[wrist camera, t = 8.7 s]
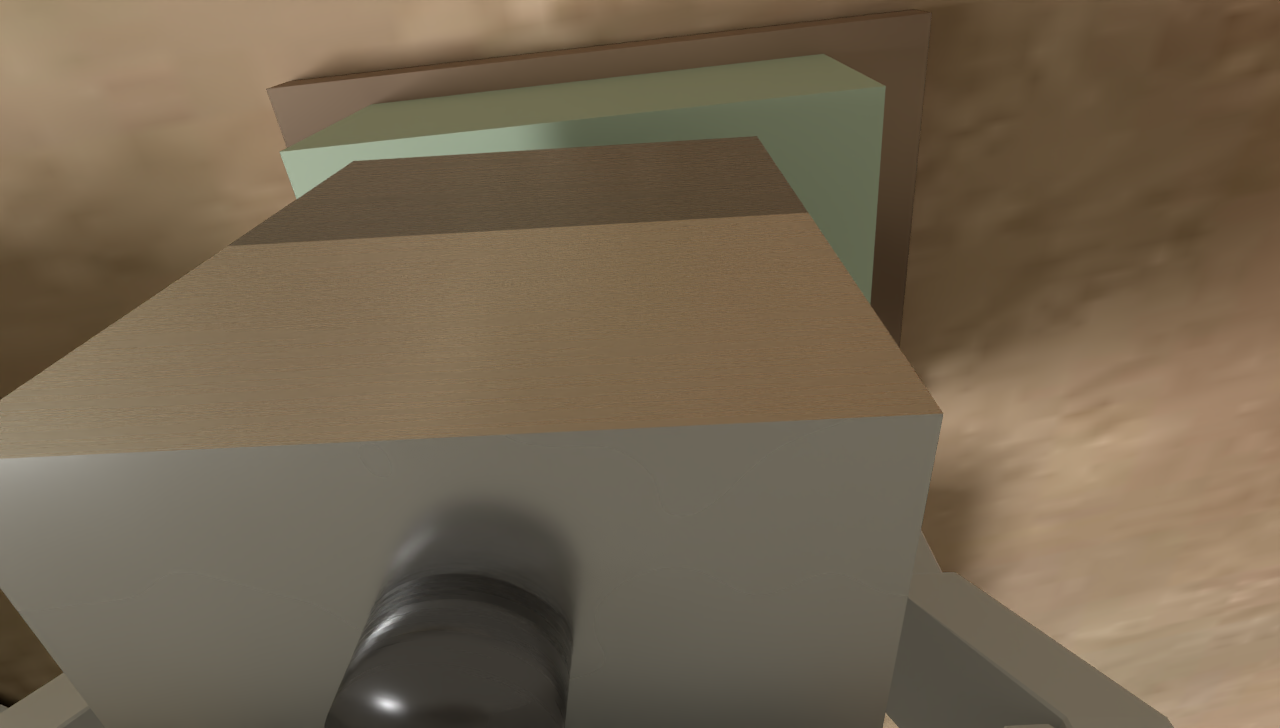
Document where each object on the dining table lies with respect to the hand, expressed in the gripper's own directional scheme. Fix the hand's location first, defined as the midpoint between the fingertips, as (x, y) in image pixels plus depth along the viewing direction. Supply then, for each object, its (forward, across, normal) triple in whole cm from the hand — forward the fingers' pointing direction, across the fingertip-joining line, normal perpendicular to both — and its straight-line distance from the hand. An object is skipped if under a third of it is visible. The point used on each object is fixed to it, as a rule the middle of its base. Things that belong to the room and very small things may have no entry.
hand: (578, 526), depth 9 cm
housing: (+2, 0, 0) cm, 2 cm away
